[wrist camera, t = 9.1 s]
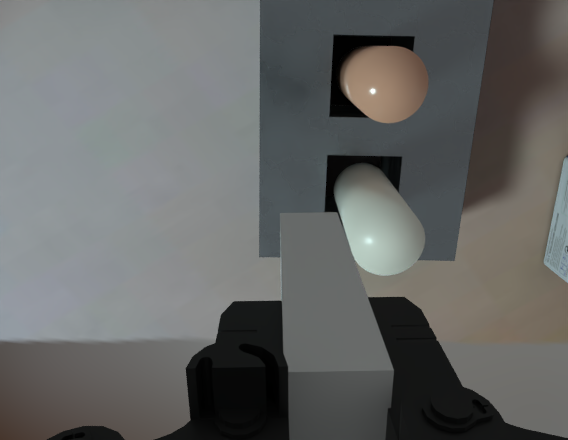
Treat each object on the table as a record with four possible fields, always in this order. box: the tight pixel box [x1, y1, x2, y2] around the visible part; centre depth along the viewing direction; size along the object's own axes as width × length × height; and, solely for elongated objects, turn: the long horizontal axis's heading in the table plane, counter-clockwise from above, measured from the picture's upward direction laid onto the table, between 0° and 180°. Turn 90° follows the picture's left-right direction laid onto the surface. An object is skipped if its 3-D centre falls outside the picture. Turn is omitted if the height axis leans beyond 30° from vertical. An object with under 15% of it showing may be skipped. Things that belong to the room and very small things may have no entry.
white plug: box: [334, 163, 425, 275], centre depth 29 cm, size 4×4×10 cm
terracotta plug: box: [336, 46, 429, 123], centre depth 29 cm, size 4×4×10 cm
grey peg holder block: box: [259, 0, 494, 261], centre depth 34 cm, size 14×25×7 cm, turn 179°
